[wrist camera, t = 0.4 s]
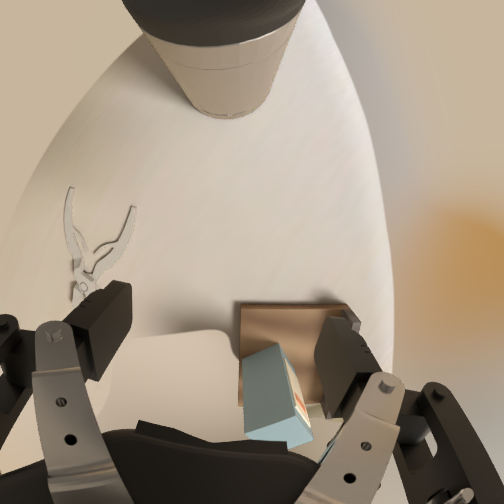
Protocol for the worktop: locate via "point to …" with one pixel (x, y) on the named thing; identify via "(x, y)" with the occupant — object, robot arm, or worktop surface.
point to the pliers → (90, 279)
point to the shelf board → (291, 340)
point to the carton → (273, 399)
